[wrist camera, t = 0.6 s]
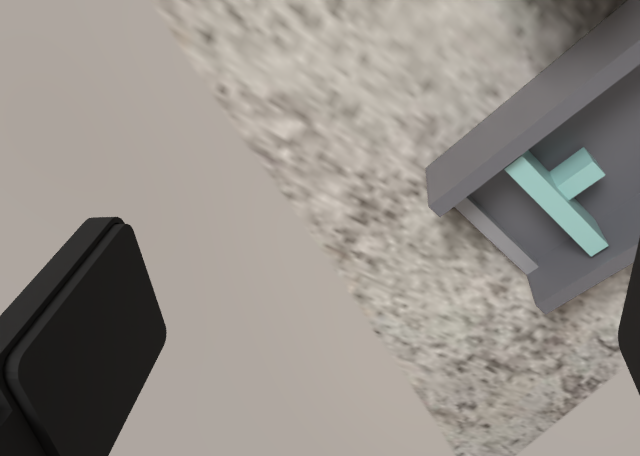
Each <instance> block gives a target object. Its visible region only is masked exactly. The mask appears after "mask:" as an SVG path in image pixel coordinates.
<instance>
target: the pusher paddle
mask: <svg viewBox="0 0 640 456" xmlns="http://www.w3.org/2000/svg"><path fill="white" fill-rule="evenodd" d="M504 170H505V171H506V172H507V173H508V174H509V175H510V176H511V177H512V178H513V179H514V180H515V181H516V182H517V183H518V184H519V185H520V186H521V187H522V188H523V189H524V190H525V191H526V192H527V193H528V194H529V195H530V196H531V197H532V198H533V199H534V200H535V201H536V202H537V203H538V204H539V205H540V206H541V207H542V208H543V209H544V210H545V211H546V212H547V213H548V214H549V215H550V216H551V217H552V218H553V219H554V220H555V221H556V222H557V223H558V224H559V225H560V226H561V227H562V228H563V229H564V230H565V231H566V232H567V233H568V234H569V235H570V236H571V237H572V238H573V239H574V240H575V241H576V242H577V243H578V244H579V245H580V246H581V247H582V248H583V249H584V250H585V251H586V252H587V253H588V254H589V255H590V256H593V255H595V254H596V253H598V252H599V251H601V250H603V249H604V248H606V247H607V246H609V245H608V243H607V241H606V239H605V237H604V235H603V234H602V232H601V230H600V228H599V226H598V224H597V223H596V221H595V219H594V218H593V217H592V216H591V215H590V214H589V213H588V212H587V211H586V210H585V209H584V208H583V207H582V206H581V204H580V203H579V202H578V201H577V200H576V199H575V198H574V197H575V196H576V195H577V194H579V193H580V192H582V191H583V190H585V189H586V188H588V187H589V186H590V185H592V184H593V183H595V182H596V181H598V180H599V179H601V178H602V177H604V176H605V173H604V172H603V170H602V169H601V167H600V166H599V164H598V163H597V161H596V160H595V159H594V157H593V156H592V155H591V154H590V153H589V152H588V151H587V150H586V149H585V148H584V147H583V148H581V149H580V150H579V151H577V152H576V153H575V154H573V155H572V156H570V157H569V158H568V159H566V160H565V161H564V162H562V163H561V164H559V165H558V166H557V167H555V168H554V169H553V170H551V171H550V172H549V171H548V170H547V169H546V168H545V167H544V166H543V165H542V164H541V163H540V162H539V161H538V160H537V159H536V158H535V157H534V156H533V155H532V154H531V152H530V151H529V150H527V151H526V152H525V153H523V154H522V155H521V156H519V157H518V158H517V159H515V160H514V161H513V162H511V163H510V164H509V165H508V166H506V167H505V168H504Z"/></svg>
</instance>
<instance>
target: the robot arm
mask: <svg viewBox="0 0 640 456" xmlns="http://www.w3.org/2000/svg"><path fill="white" fill-rule="evenodd" d="M165 340H166V326H165V323H164V320H163V317H162V314H161V311H160V308H159V305H158V302H157V300H156V296H155V293H154V290H153V287H152V284H151V281H150V279H149V275H148V272H147V270H146V266H145V263H144V260H143V258H142V254H141V252H140V249H139V246H138V243H137V240H136V237H135V234H134V231H133V229H132V227H131V226H130V225H128V224H125V223H124V222H123V220H122V219H121V218H118V217H99V218H89V219H87V220H86V221H85V222H84V223H83V224H82V225H81V226H80V227H79V229H78V230H77V231H76V232H75V233H74V234H73V235H72V236H71V238H70V239H69V240H68V241H67V242H66V243H65V244H64V246H62V248H61V249H60V250H59V251H58V252H57V253H56V254H55V255H54V256H53V258H52V259H51V260H50V261H49V262H48V263H47V264H46V266H45V267H44V268H43V269H42V270H41V271H40V272H39V273H38V274H37V276H36V277H35V278H34V279H33V280H32V281H31V282H30V283H29V284H28V285H27V287H26V288H25V289H24V290H23V291H22V292H21V294H20V295H19V296H18V297H17V298H16V299H15V300H14V301H13V302H12V303H11V305H10V306H9V307H8V308H7V309H6V310H5V311H4V312H3V313H2V315H1V316H0V456H108V455H109V453H110V451H111V449H112V447H113V445H114V443H115V441H116V439H117V437H118V435H119V433H120V431H121V429H122V427H123V425H124V423H125V421H126V419H127V417H128V415H129V413H130V411H131V409H132V407H133V405H134V403H135V402H136V400H137V397H138V395H139V394H140V392H141V389H142V388H143V386H144V383H145V382H146V380H147V378H148V376H149V374H150V372H151V370H152V368H153V366H154V364H155V362H156V360H157V358H158V356H159V354H160V352H161V350H162V348H163V346H164V343H165ZM618 341H619V347H620V350H621V353H622V355H623V358H624V360H625V362H626V364H627V367H628V369H629V371H630V374H631V376H632V378H633V381H634V383H635V385H636V388H637V389H638V392H639V394H640V238H639V242H638V247H637V251H636V255H635V260H634V264H633V268H632V273H631V277H630V282H629V286H628V290H627V295H626V299H625V303H624V308H623V312H622V317H621V321H620V325H619V330H618Z"/></svg>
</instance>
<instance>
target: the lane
mask: <svg viewBox="0 0 640 456" xmlns="http://www.w3.org/2000/svg"><path fill="white" fill-rule="evenodd" d="M583 147H584V148H585V149H586V150H587V151H588V152H589V153H590V154H591V155H592V156H593V157H594V159H595V160H596V161H597V163H598V164H599V166H600V167H601V169H602V170H603V172H604V173H605V176H604V177H602V178H601V179H599V180H598V181H596V182H595V183H593V184H592V185H590V186H589V187H588V188H586V189H585V190H583V191H582V192H580V193H579V194H577V195H576V196H575V197H574V198H575V199H576V200H577V201H578V202H579V203H580V204H581V206H582V207H583V208H584V209H585V210H586V211H587V212H588V213H589V214H590V215H591V216H592V217H593V218H594V219H595V221H596V223H597V224H598V226H599V228H600V230H601V232H602V234H603V235H604V237H605V239H606V241H607V243H608V245H609V246H607V247H606V248H604V249H603V250H601V251H599V252H598V253H596V254H595V255H593V256H590V255H589V254H588V253H587V252H586V251H585V250H584V249H583V248H582V247H581V246H580V245H579V244H578V243H577V242H576V241H575V240H574V239H573V238H572V237H571V236H570V235H569V234H568V233H567V232H566V231H565V230H564V229H563V228H562V227H561V226H560V225H559V224H558V223H557V222H556V221H555V220H554V219H553V218H552V217H551V216H550V215H549V214H548V213H547V212H546V211H545V210H544V209H543V208H542V207H541V206H540V205H539V204H538V203H537V202H536V201H535V200H534V199H533V198H532V197H531V196H530V195H529V194H528V193H527V192H526V191H525V190H524V189H523V188H522V187H521V186H520V185H519V184H518V183H517V182H516V181H515V180H514V179H513V178H512V177H511V176H510V175H509V174H508V173H507V172H506V171H505V170H504V168H505V167H506V166H508V165H509V164H510V163H511V162H513V161H514V160H515V159H517V158H518V157H519V156H521V155H522V154H523V153H525V152H526V151H527V150H529V151H530V152H531V154H532V155H533V156H534V157H535V158H536V159H537V160H538V161H539V162H540V163H541V164H542V165H543V166H544V167H545V168H546V169H547V170H548V171H549V172H550V171H551V170H553V169H554V168H555V167H557V166H558V165H559V164H561V163H562V162H564V161H565V160H566V159H568V158H569V157H570V156H572V155H573V154H575V153H576V152H577V151H579V150H580V149H581V148H583ZM426 179H427V193H428V206H429V207H430V208H431V209H432V210H433V211H434V212H435V213H436V214H437V215H438V216H439V217H441V216H442V215H444V214H445V213H446V212H448V211H449V210H450V209H452V208H453V207H455V208H456V209H457V210H458V211H459V212H460V213H461V214H462V215H463V216H464V217H465V218H467V219H468V220H469V221H470V222H471V223H472V224H473V225H474V226H475V227H476V228H477V229H478V230H479V231H480V232H481V233H482V234H484V235H485V236H486V237H487V238H488V239H489V240H490V241H491V242H492V243H493V244H494V245H495V246H496V247H497V248H498V249H500V250H501V251H502V252H503V253H504V254H505V255H506V256H507V257H508V258H509V259H510V260H511V261H512V262H513V263H514V264H515V265H517V266H518V267H519V268H520V269H521V270H522V271H523V272H524V273H525V274H526V275H527V278H528V281H529V284H530V288H531V291H532V294H533V298H534V301H535V304H536V306H537V307H538V308H539V309H540V310H541V311H542V312H543V313H545V314H547V313H549V312H551V311H553V310H554V309H556V308H558V307H559V306H561V305H563V304H564V303H566V302H568V301H569V300H571V299H573V298H574V297H576V296H578V295H579V294H581V293H583V292H585V291H586V290H588V289H590V288H591V287H593V286H595V285H596V284H598V283H600V282H601V281H603V280H605V279H606V278H608V277H610V276H611V275H613V274H615V273H616V272H618V271H620V270H622V269H623V268H625V267H627V266H628V265H630V264H632V263H633V262H634V260H635V255H636V251H637V247H638V242H639V238H640V0H627V1H626V2H625V3H624V4H622V5H621V6H620V7H619V8H618V9H616V10H615V11H614V12H613V13H612V14H610V15H609V16H608V17H607V18H606V19H604V20H603V21H602V22H601V23H600V24H598V25H597V26H596V27H595V28H594V29H592V30H591V31H590V32H589V33H588V34H586V35H585V36H584V37H583V38H582V39H580V40H579V41H578V42H577V43H576V44H574V45H573V46H572V47H571V48H570V49H568V50H567V51H566V52H565V53H564V54H562V55H561V56H560V57H559V58H558V59H556V60H555V61H554V62H553V63H552V64H550V65H549V66H548V67H547V68H546V69H544V70H543V71H542V72H541V73H540V74H538V75H537V76H536V77H535V78H534V79H532V80H531V81H530V82H529V83H528V84H526V85H525V86H524V87H523V88H522V89H520V90H519V91H518V92H517V93H516V94H514V95H513V96H512V97H511V98H510V99H508V100H507V101H506V102H505V103H504V104H502V105H501V106H500V107H499V108H498V109H496V110H495V111H494V112H493V113H492V114H490V115H489V116H488V117H487V118H486V119H484V120H483V121H482V122H481V123H480V124H478V125H477V126H476V127H475V128H474V129H472V130H471V131H470V132H469V133H468V134H466V135H465V136H464V137H463V138H462V139H460V140H459V141H458V142H457V143H456V144H454V145H453V146H452V147H451V148H449V149H448V150H447V151H446V152H445V153H443V154H442V155H441V156H440V157H439V158H437V159H436V160H435V161H434V162H433V163H431V164H430V165H429V166H428V167H427V168H426Z"/></svg>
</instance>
